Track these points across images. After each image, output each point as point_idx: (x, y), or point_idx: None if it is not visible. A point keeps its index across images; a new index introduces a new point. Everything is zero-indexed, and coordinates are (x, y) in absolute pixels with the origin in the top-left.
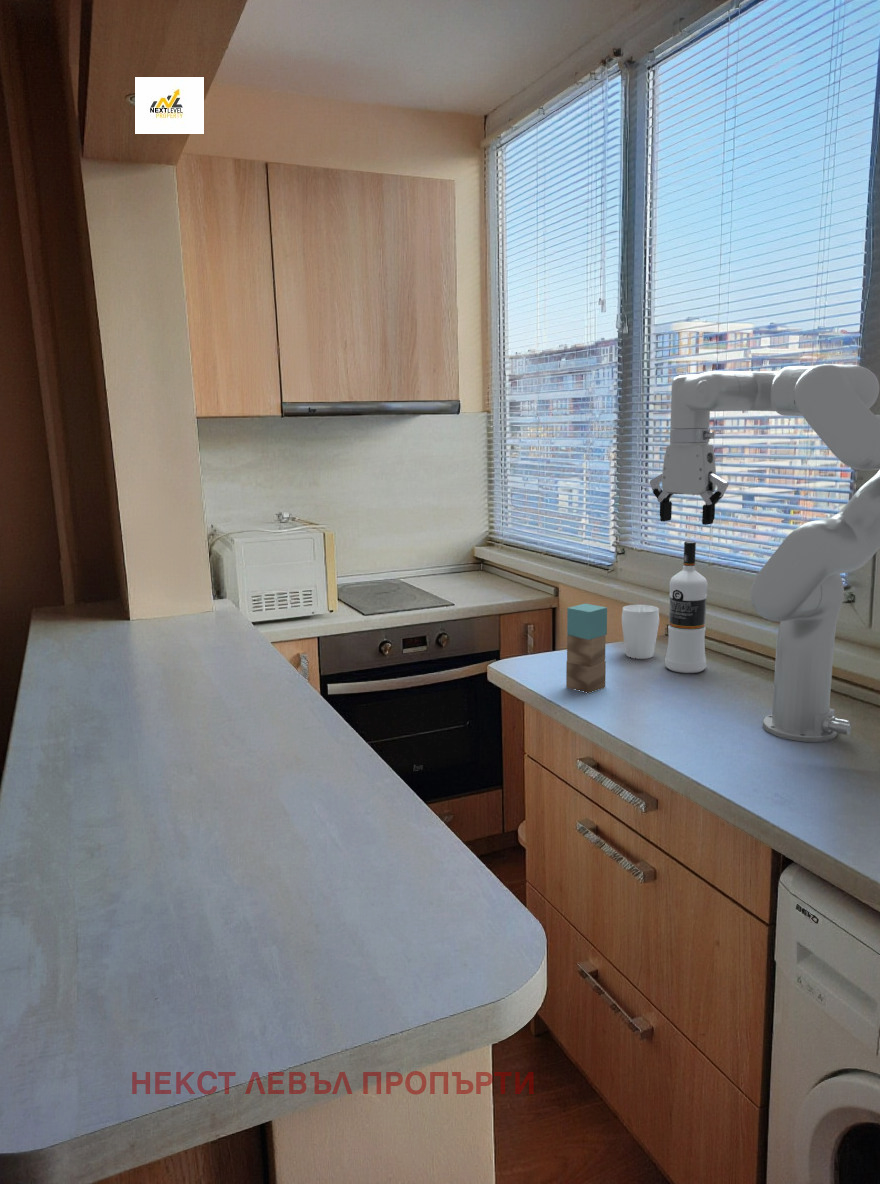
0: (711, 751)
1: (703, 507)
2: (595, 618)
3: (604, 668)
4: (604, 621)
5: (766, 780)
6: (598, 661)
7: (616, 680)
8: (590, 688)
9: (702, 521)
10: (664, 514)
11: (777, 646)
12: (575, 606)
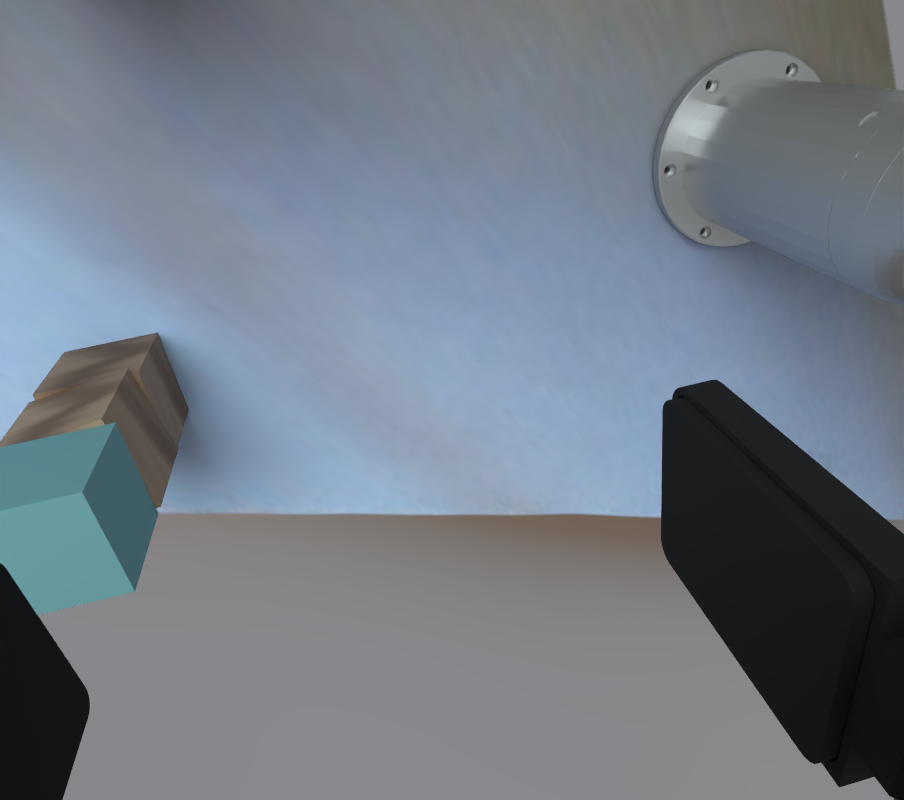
0: (650, 417)
1: (812, 744)
2: (127, 536)
3: (146, 366)
4: (107, 470)
5: (780, 429)
6: (152, 412)
7: (103, 253)
8: (182, 407)
9: (680, 572)
10: (52, 775)
11: (845, 278)
12: None
